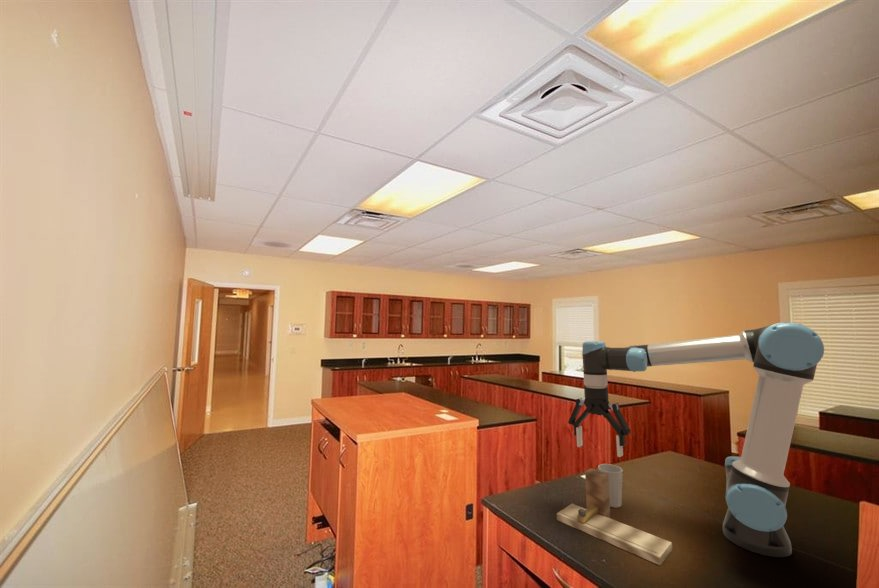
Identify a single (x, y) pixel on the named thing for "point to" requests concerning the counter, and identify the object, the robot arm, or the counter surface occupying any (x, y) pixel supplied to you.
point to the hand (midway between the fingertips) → (599, 450)
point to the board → (619, 534)
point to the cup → (613, 483)
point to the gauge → (595, 495)
